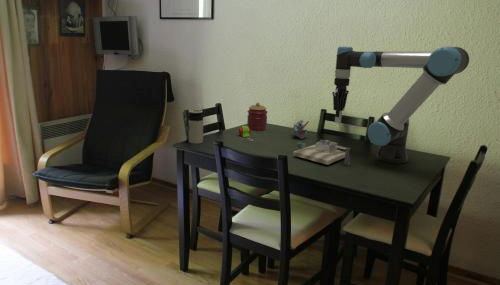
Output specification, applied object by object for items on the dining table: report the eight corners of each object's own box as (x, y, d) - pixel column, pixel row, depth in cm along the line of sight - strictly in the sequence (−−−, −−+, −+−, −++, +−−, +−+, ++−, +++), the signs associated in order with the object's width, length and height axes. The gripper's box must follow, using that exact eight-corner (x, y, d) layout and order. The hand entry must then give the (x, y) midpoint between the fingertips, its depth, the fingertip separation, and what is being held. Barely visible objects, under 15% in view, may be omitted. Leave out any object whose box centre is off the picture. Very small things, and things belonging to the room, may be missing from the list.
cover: (336, 150, 203) (337, 140, 202) (328, 153, 197) (329, 143, 196) (323, 147, 208) (324, 137, 207) (315, 150, 202) (316, 140, 201)
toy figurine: (307, 141, 232) (308, 121, 229) (288, 139, 234) (289, 120, 231) (308, 136, 243) (309, 117, 239) (290, 135, 245) (291, 116, 242)
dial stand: (349, 165, 190) (351, 148, 188) (347, 166, 189) (349, 149, 187) (335, 161, 195) (336, 145, 193) (333, 162, 194) (334, 145, 192)
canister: (257, 126, 266) (258, 100, 261) (270, 130, 256) (272, 103, 251) (242, 128, 257) (243, 101, 253) (255, 132, 248) (256, 105, 243)
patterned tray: (347, 156, 200) (348, 148, 199) (327, 164, 186) (328, 156, 185) (308, 146, 216) (309, 139, 215) (286, 153, 201) (287, 146, 200)
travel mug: (204, 141, 224) (204, 110, 219) (201, 144, 216) (201, 112, 211) (190, 140, 224) (190, 109, 220) (187, 143, 217) (186, 111, 212)
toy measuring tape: (246, 133, 244) (246, 123, 243) (256, 141, 226) (257, 130, 225) (236, 134, 242) (236, 123, 241) (246, 142, 225) (246, 131, 223)
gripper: (342, 76, 207) (337, 120, 213) (329, 77, 197) (324, 123, 204) (355, 77, 202) (350, 122, 208) (342, 79, 193) (337, 125, 199)
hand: (337, 122), depth 206 cm, fingers closed
